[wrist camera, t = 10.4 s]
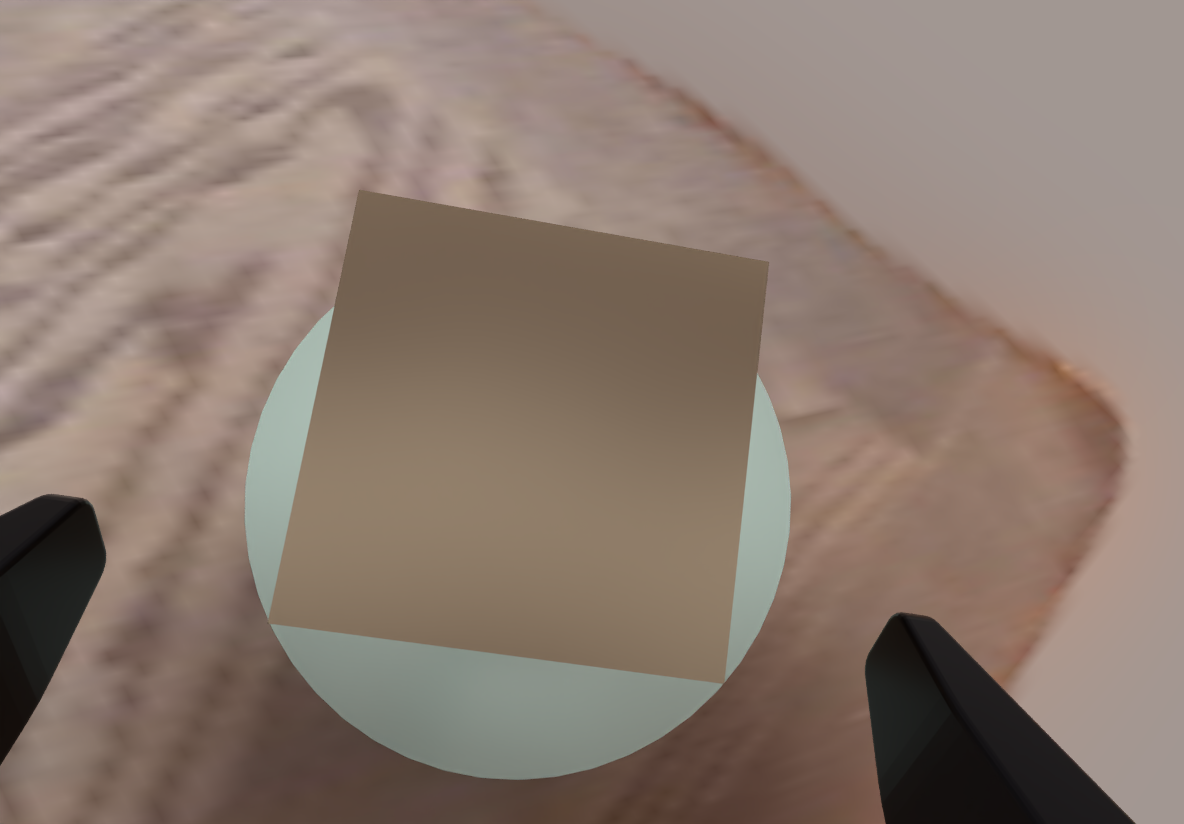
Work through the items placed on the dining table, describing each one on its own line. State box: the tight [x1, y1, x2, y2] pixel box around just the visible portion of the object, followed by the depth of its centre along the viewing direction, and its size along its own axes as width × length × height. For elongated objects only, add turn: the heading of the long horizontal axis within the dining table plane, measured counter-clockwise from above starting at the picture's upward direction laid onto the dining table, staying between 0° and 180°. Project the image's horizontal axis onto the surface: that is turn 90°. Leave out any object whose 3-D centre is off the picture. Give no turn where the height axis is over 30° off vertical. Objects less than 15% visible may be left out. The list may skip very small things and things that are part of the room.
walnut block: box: [268, 190, 769, 684], centre depth 14 cm, size 5×5×11 cm
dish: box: [245, 307, 791, 780], centre depth 20 cm, size 14×14×1 cm
